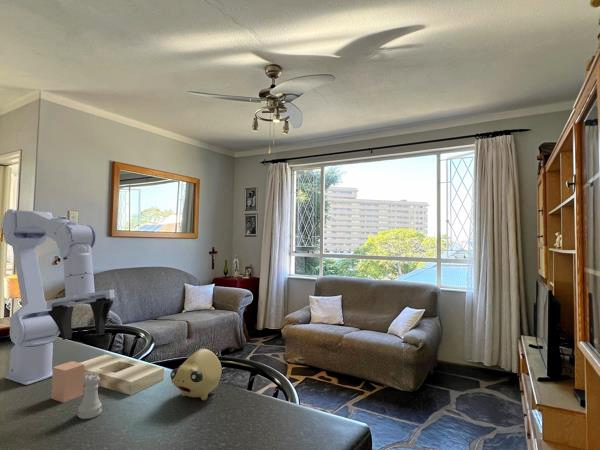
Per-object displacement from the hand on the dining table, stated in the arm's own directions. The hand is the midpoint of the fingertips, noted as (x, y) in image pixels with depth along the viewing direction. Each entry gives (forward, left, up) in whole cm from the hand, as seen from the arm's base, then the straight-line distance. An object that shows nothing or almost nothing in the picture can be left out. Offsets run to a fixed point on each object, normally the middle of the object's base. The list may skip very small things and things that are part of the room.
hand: (83, 336), depth 80 cm
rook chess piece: (+8, -3, -14) cm, 17 cm away
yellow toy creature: (+22, +13, -14) cm, 29 cm away
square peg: (-4, 0, -14) cm, 15 cm away
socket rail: (-3, +12, -14) cm, 19 cm away
